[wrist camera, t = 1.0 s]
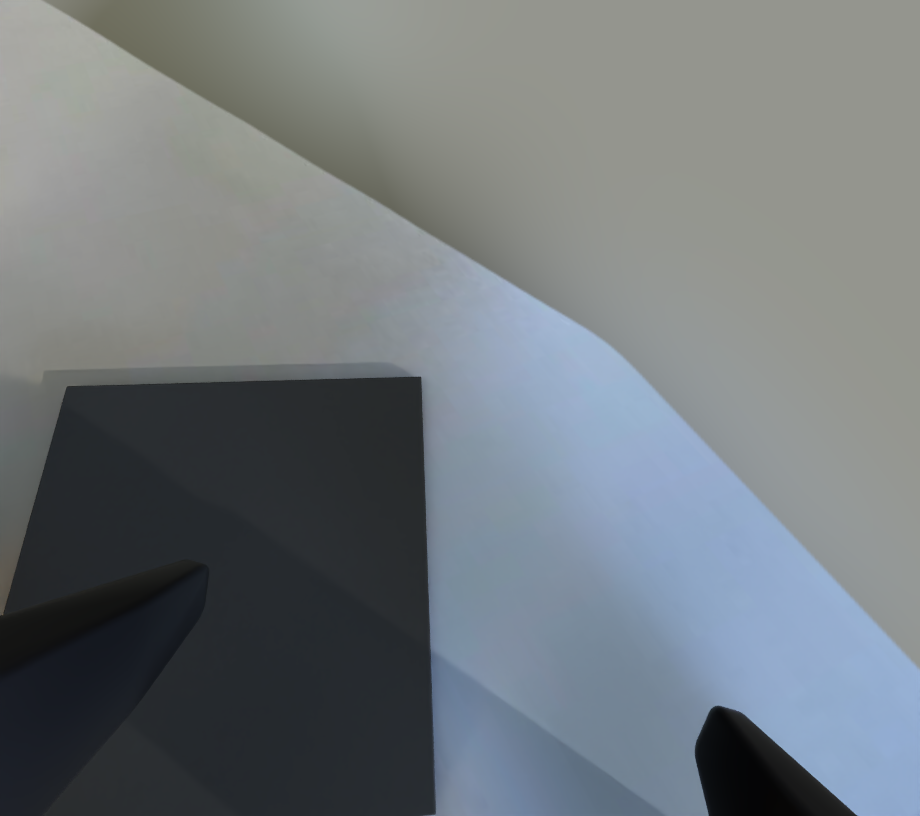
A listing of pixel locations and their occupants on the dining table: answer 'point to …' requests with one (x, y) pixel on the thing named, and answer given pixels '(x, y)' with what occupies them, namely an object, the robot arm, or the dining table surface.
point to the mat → (253, 591)
